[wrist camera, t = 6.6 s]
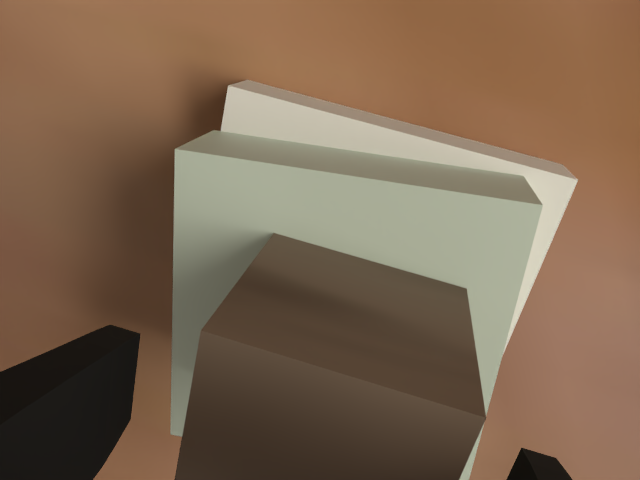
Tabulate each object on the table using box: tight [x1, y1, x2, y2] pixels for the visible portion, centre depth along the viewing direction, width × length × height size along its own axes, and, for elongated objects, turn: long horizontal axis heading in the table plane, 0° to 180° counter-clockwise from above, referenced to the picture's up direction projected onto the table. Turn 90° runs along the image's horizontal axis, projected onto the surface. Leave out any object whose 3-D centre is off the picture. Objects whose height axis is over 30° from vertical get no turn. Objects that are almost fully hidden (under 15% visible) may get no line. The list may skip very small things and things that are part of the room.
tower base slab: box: [221, 80, 578, 353], centre depth 17 cm, size 9×9×2 cm
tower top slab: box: [171, 130, 543, 480], centre depth 15 cm, size 8×8×2 cm
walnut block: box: [175, 233, 486, 480], centre depth 11 cm, size 4×4×4 cm
